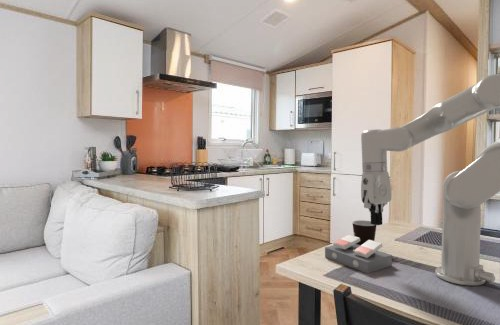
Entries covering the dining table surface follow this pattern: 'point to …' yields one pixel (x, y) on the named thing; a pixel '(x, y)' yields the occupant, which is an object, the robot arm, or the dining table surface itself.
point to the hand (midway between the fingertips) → (376, 224)
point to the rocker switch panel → (359, 258)
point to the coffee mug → (364, 231)
